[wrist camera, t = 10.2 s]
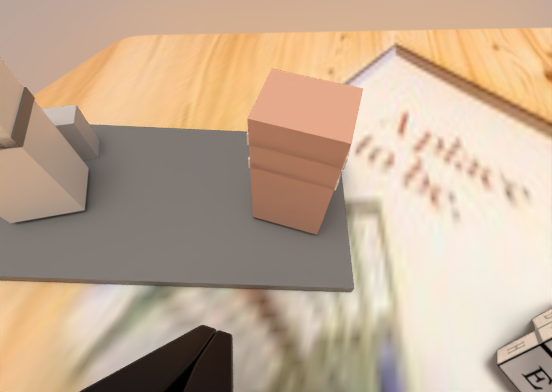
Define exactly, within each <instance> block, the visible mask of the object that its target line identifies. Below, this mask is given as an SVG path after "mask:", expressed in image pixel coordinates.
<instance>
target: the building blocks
mask: <svg viewBox="0 0 552 392" xmlns="http://www.w3.org/2000/svg"><path fill="white" fill-rule="evenodd" d="M532 322H533V325H534V327H535V331H533V332H531V333H529V334H527V335H525V336H523V337H521V338H519V339H517V340H515V341H513V342H511V343H510V344H508V345H506V346H504V347H502V348H500V349H498V350H497V365H498V367H499V368H500V369H501V370H502V371H503V373H504V374H505V375H506V376H507V377H508V378H509V380H510V381H511V382H512V383H513V384H514V386H515V387H516V388H517V389H518V390H519V392H552V309H550V310H548V311H546V312H544V313H542V314H541V315H539V316H537V317H535V318H533V319H532Z"/></svg>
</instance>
